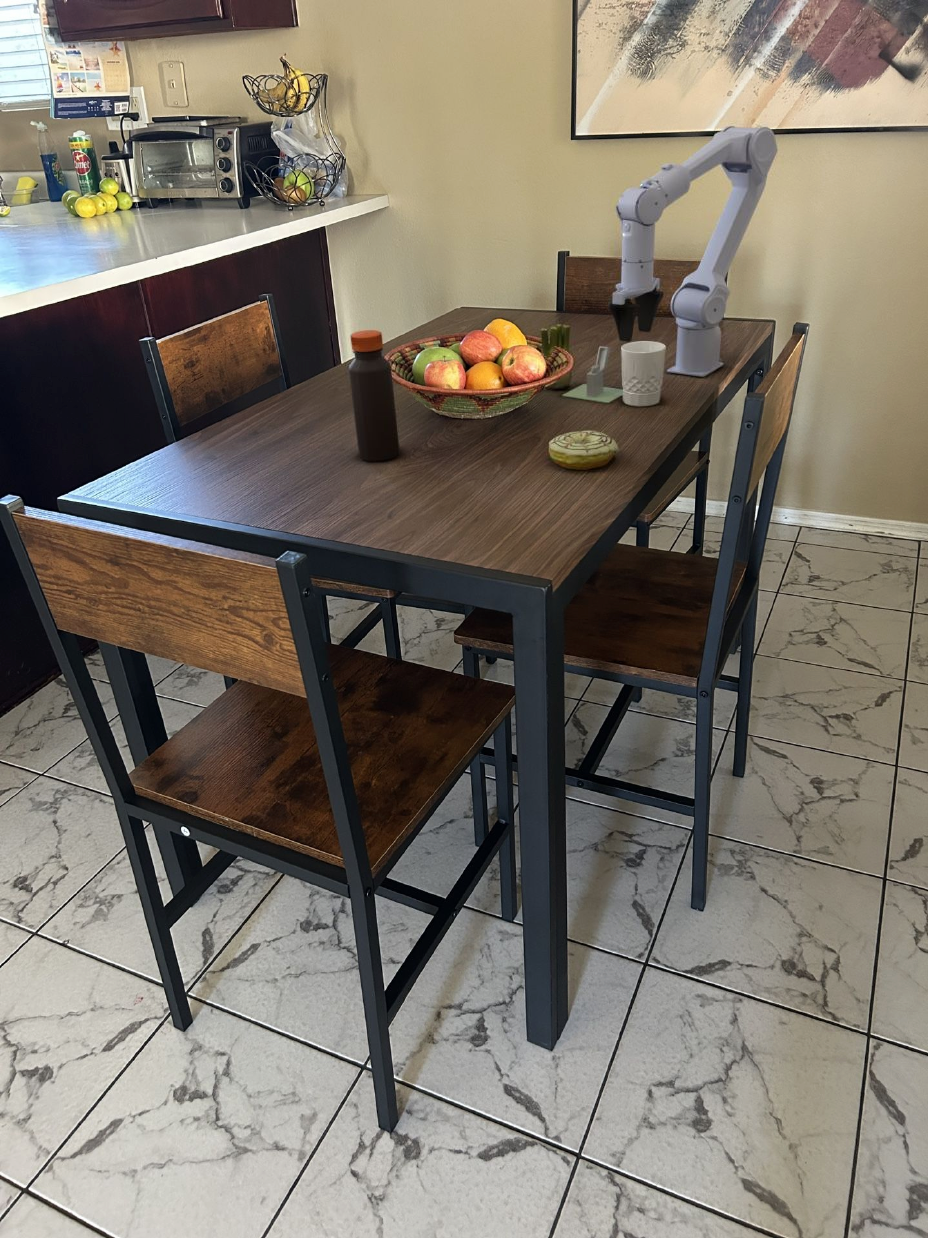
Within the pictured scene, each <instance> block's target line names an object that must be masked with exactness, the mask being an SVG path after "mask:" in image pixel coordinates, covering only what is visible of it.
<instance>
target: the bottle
mask: <svg viewBox="0 0 928 1238" xmlns="http://www.w3.org/2000/svg"><path fill="white" fill-rule="evenodd" d="M350 344H351V350H352V353H353V354H354V359H353V360H352V361H351V363H349V366H348V378H349V385H350V391H351V401H352V409H353V417H354V425H355V433H356V441H357V451H358V456H359V457H360V459H362V460H363V461H366V462H374V463H375V462H385V461H389V460H392V459H394V458H397V456H399V454H400V442H399V441H400V440H399V432H398V423H397V422H398V421H397V413H396V403H395V394H394V393H395V391H394V383H393V381H394V380H393V372H392V365H391V363H390V361H389V360H387V359H386V358H385V356H383V350H384V343H383V334H382V331H380V330H376V329H375V330H374V329H367V330H359V331H355V332H352V333H351V334H350Z"/></svg>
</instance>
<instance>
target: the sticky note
mask: <svg viewBox="0 0 928 1238" xmlns="http://www.w3.org/2000/svg"><path fill="white" fill-rule="evenodd" d="M561 396H562V397H566V398H572V399H579V400H587V401H590V402H591V401H592V402H598V403H603V404H604V403H605V404H610V403H612V402H613V401H616V400H617V399H619V398H620V397H623V388H622V389H621V388H615V387H609V386H603V392H602V393H600V394H599V395H598V396H596V397H594V398H593V397H587V383H583V384H581V385H579V386H577V387H575V388H573V389H571V390H569V391H567V392H565V393H563V394H562V395H561Z"/></svg>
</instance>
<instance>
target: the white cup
mask: <svg viewBox="0 0 928 1238" xmlns="http://www.w3.org/2000/svg"><path fill="white" fill-rule="evenodd" d="M666 351H667V346H666V345H665V344H664V343H663V342H658V341H651V340H649V341H648V340H640V341H639V340H638V341H632V342H631V341H630V342H628V343H624V344H622V345H621V347H620V356H621V357H620V358H621V359H620V360H621V363H620V365H621V386H622V390H623V395H622V402H623V403H624V404H626V405H628V406H631V407H650V406H654V405H657V404H659V403H660V401H661V394H662V386H663V378H664V372H665V361H666Z"/></svg>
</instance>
